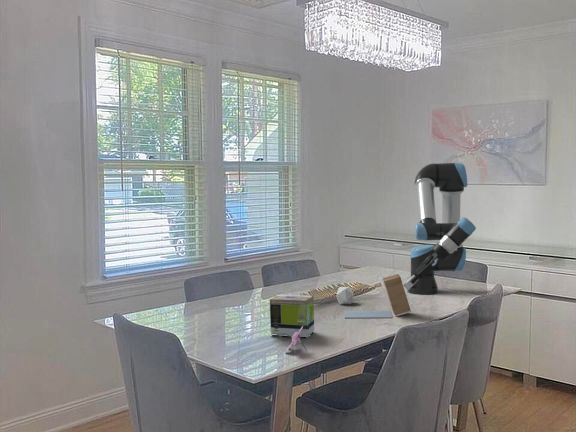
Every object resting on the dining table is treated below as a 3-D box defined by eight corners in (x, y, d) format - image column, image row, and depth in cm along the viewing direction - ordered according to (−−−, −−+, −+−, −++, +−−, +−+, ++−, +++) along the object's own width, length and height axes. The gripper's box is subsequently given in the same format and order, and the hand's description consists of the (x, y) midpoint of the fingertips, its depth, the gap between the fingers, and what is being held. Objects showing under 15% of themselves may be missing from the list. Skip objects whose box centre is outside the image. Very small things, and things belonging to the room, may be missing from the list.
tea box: (314, 332, 234) (314, 294, 233) (307, 339, 225) (306, 300, 223) (278, 329, 239) (278, 293, 238) (270, 336, 230) (269, 298, 228)
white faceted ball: (348, 308, 274) (358, 290, 276) (332, 298, 275) (342, 280, 278) (347, 310, 282) (356, 292, 284) (331, 301, 283) (340, 283, 285)
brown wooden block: (393, 312, 261) (382, 278, 260) (408, 308, 261) (398, 273, 260) (395, 316, 255) (384, 281, 253) (411, 311, 254) (400, 276, 253)
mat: (343, 311, 265) (343, 310, 265) (389, 311, 264) (389, 310, 264) (344, 318, 253) (344, 317, 253) (392, 318, 252) (392, 317, 252)
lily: (298, 346, 219) (285, 326, 218) (321, 339, 213) (308, 319, 212) (285, 364, 210) (272, 344, 209) (309, 357, 204) (296, 336, 203)
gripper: (454, 256, 247) (414, 297, 249) (447, 252, 260) (409, 290, 262) (441, 244, 247) (401, 284, 249) (435, 240, 260) (397, 279, 262)
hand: (405, 287), depth 256 cm, fingers closed
